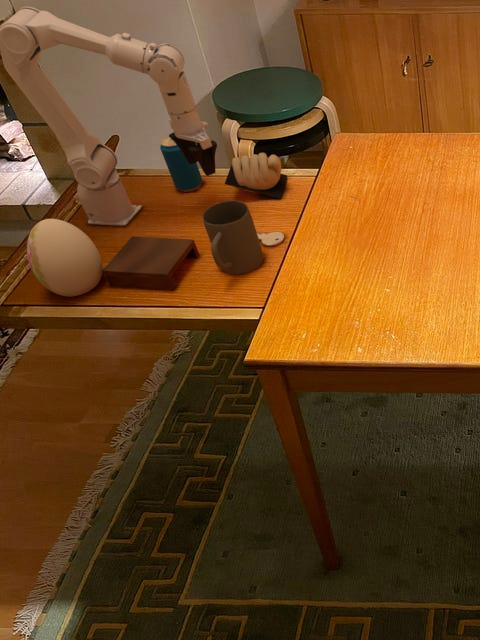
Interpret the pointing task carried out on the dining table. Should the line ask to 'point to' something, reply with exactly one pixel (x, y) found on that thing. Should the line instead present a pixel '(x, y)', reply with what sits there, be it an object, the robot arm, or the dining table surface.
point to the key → (271, 238)
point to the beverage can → (180, 167)
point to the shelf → (149, 262)
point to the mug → (233, 237)
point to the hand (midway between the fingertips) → (202, 168)
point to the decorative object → (257, 175)
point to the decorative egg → (63, 258)
